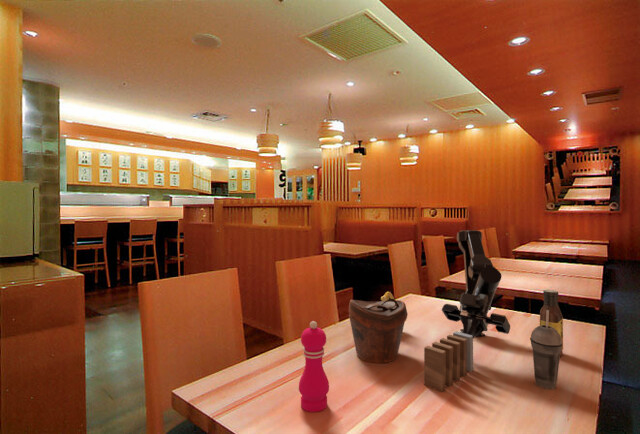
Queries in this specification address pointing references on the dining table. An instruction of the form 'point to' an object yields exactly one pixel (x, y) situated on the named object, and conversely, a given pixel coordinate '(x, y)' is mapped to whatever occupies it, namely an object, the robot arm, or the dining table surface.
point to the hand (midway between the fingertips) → (465, 342)
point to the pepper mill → (313, 370)
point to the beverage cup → (546, 354)
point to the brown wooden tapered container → (377, 328)
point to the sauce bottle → (552, 312)
